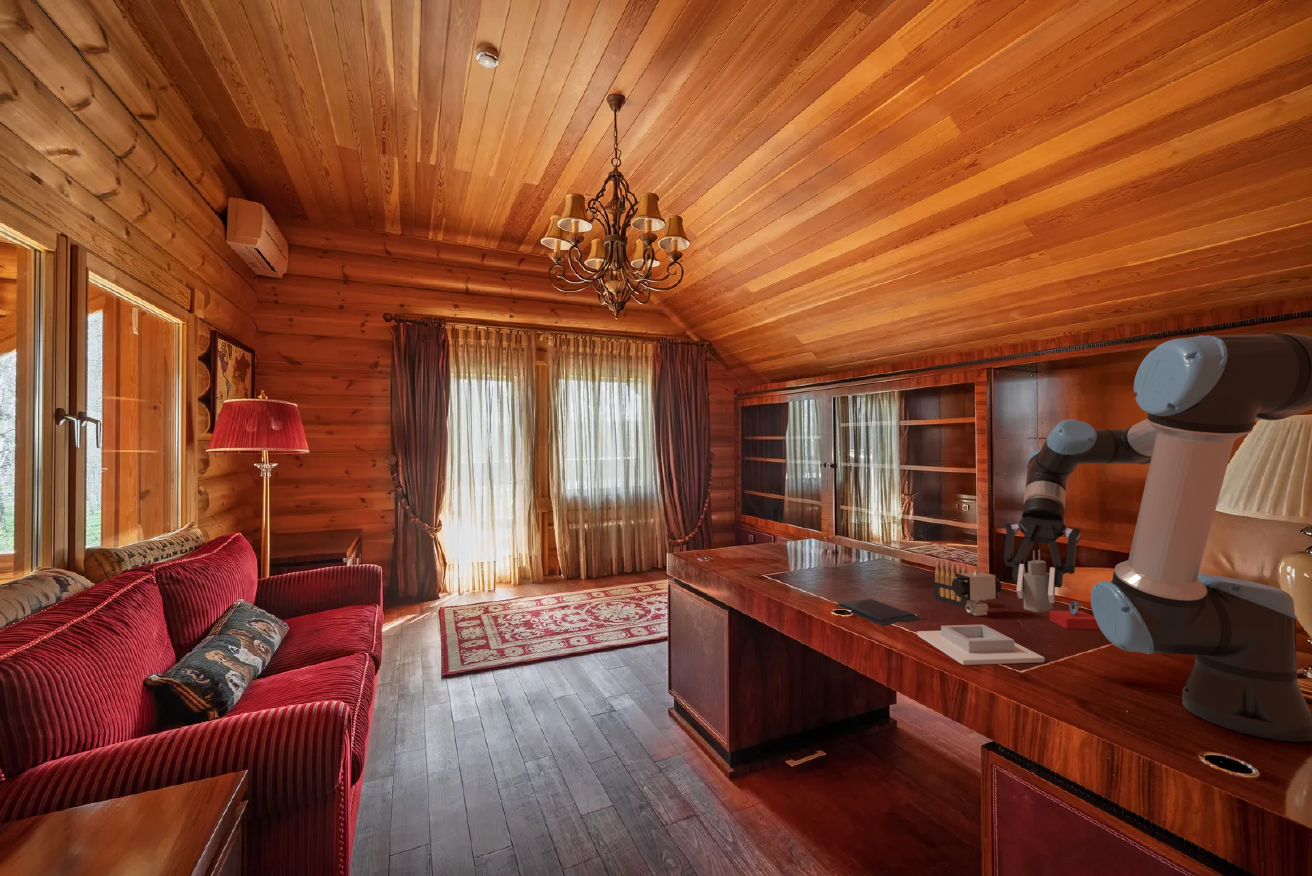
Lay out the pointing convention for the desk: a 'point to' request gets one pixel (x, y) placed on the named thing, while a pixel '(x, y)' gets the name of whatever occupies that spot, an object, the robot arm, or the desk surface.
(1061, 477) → the robot arm
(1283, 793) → the desk surface
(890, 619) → the wallet
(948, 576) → the ammunition clip
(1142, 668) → the desk surface
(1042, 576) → the power adapter
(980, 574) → the pneumatic valve
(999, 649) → the holder plate
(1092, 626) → the red rectangular block
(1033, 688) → the desk surface
